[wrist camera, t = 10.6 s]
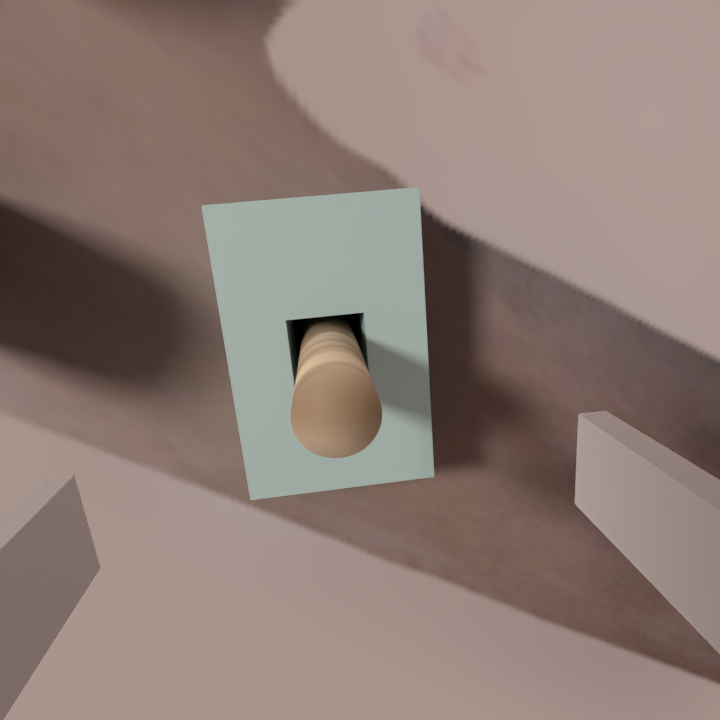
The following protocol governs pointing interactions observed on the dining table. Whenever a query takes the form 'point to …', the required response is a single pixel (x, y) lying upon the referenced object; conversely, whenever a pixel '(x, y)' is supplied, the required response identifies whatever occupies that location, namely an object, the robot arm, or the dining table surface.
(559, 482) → the dining table surface
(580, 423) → the robot arm
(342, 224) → the socket block
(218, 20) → the dining table surface
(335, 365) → the peg
